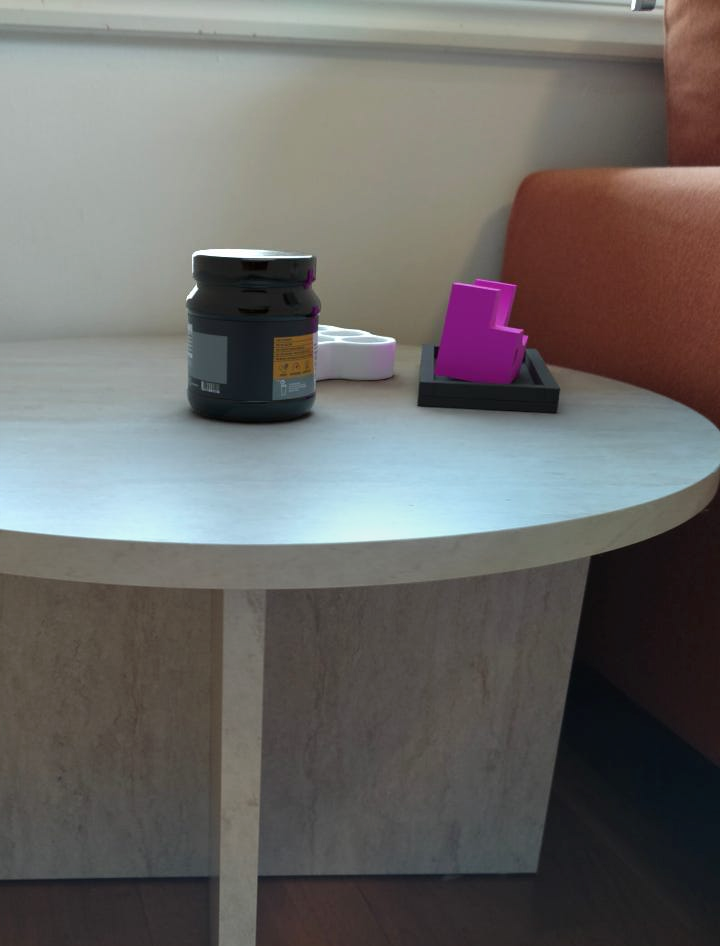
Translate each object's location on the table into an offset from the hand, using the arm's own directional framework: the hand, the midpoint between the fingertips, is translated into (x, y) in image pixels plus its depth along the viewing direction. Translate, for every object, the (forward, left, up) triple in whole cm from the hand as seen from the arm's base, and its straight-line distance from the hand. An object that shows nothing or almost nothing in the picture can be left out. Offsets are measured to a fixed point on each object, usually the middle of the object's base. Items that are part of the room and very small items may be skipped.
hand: (709, 10), depth 75 cm
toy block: (+13, -6, -28) cm, 31 cm away
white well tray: (+30, -11, -29) cm, 43 cm away
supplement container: (+32, +10, -29) cm, 44 cm away
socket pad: (+13, -6, -29) cm, 32 cm away
